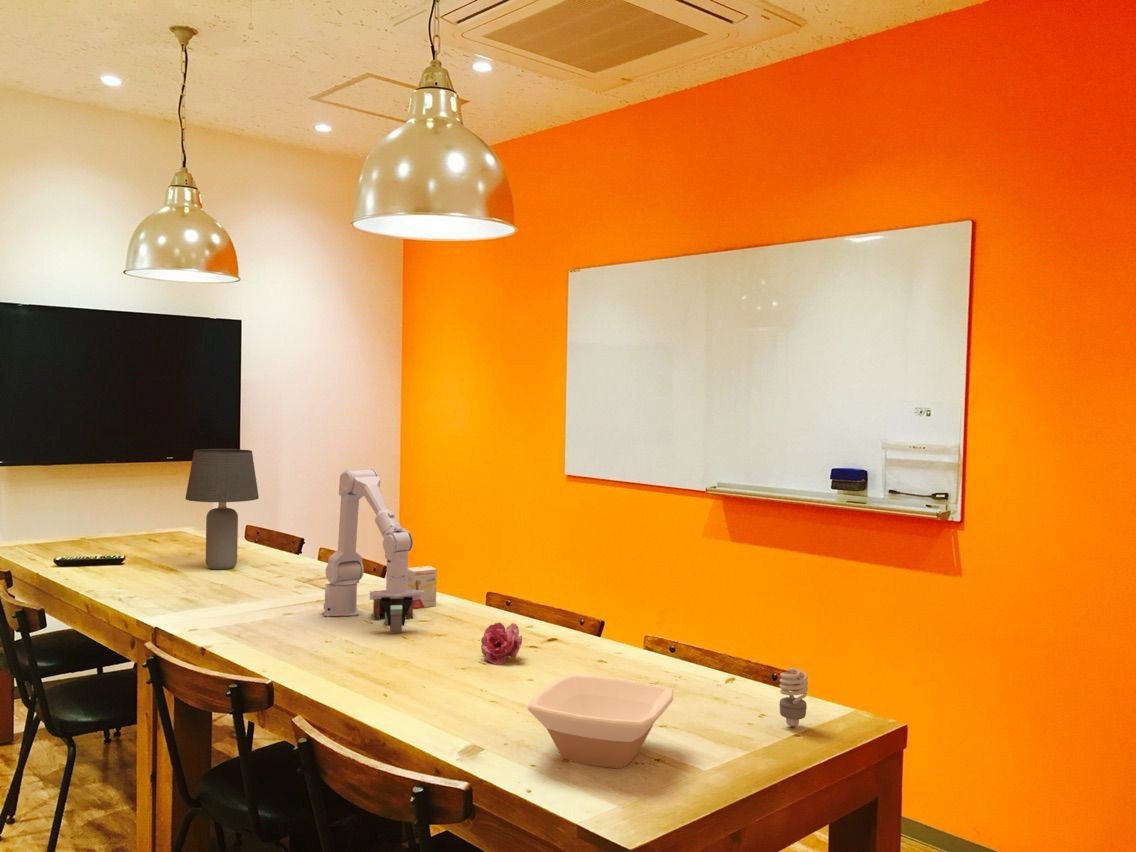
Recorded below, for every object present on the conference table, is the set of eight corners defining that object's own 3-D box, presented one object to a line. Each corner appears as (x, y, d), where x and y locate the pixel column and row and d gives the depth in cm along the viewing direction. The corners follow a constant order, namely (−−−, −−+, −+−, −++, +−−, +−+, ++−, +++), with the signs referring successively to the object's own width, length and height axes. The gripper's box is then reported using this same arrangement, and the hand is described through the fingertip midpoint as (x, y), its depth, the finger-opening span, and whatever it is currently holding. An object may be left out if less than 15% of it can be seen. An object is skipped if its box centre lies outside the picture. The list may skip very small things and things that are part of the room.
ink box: (411, 609, 282) (412, 570, 282) (404, 606, 286) (405, 568, 286) (436, 606, 287) (437, 568, 287) (429, 603, 291) (430, 565, 291)
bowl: (515, 766, 164) (517, 707, 164) (565, 722, 187) (566, 670, 187) (644, 790, 156) (646, 727, 156) (680, 741, 179) (682, 686, 179)
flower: (500, 679, 225) (477, 646, 224) (492, 671, 235) (469, 639, 234) (537, 650, 228) (514, 617, 227) (527, 643, 238) (506, 611, 237)
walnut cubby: (374, 619, 268) (374, 596, 268) (373, 613, 276) (373, 590, 276) (412, 618, 270) (413, 595, 270) (410, 612, 278) (411, 590, 278)
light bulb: (774, 722, 191) (776, 664, 190) (801, 722, 191) (803, 664, 191) (783, 732, 185) (785, 672, 185) (810, 732, 186) (812, 672, 185)
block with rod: (386, 633, 253) (387, 616, 253) (384, 621, 267) (385, 605, 266) (405, 632, 254) (405, 616, 254) (402, 620, 268) (402, 605, 268)
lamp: (243, 575, 327) (245, 453, 326) (172, 573, 327) (173, 451, 326) (267, 562, 352) (269, 449, 351) (201, 560, 352) (203, 447, 351)
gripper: (370, 578, 249) (369, 629, 249) (424, 577, 252) (423, 627, 253) (369, 573, 256) (368, 622, 256) (422, 573, 259) (421, 621, 260)
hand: (396, 624), depth 255 cm, fingers closed on block with rod, 3 cm apart
